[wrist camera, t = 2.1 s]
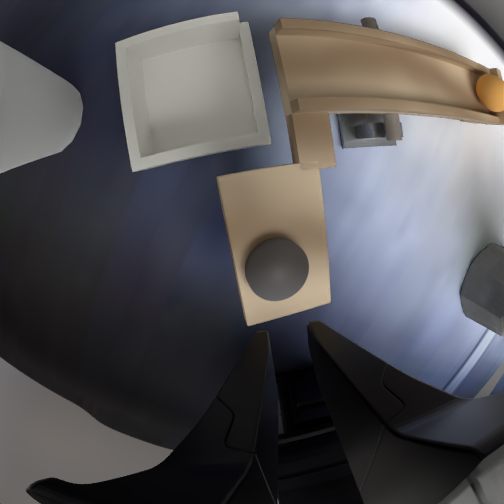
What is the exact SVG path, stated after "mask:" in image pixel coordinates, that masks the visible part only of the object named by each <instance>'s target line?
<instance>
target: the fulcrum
mask: <svg viewBox="0 0 504 504" xmlns="http://www.w3.org/2000/svg"><path fill="white" fill-rule="evenodd" d="M379 30H380V29H379ZM337 115H338V121H339V127H340V134H341V140H342V147H343V148H356V147H371V146H391V145H396V140H387V137H386V130H385V123H384V117H383V114H380V113H340V114H337ZM400 128H401V135H402V137H403V133H402V126H401V122H400Z"/></svg>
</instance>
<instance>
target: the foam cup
mask: <svg viewBox="0 0 504 504" xmlns="http://www.w3.org/2000/svg"><path fill="white" fill-rule="evenodd" d="M82 112H83V105H82V100H81V95H80V93H79V92H78V90H77V89H76V88H75V87H74V86H73V85H72V84H70V83H69V82H68V81H66V80H65V79H63V78H61V77H60V76H58V75H57V74H55V73H53V72H52V71H50V70H48V69H47V68H45V67H43V66H42V65H40V64H39V63H37V62H35V61H34V60H32V59H30V58H28V57H27V56H25V55H23V54H22V53H20V52H18V51H17V50H15V49H13V48H11V47H10V46H8V45H6V44H4V43H3V42H1V41H0V173H3V172H5V171H8V170H10V169H13V168H15V167H18V166H21V165H23V164H26V163H29V162H32V161H35V160H38V159H41V158H44V157H47V156H50V155H53V154H56V153H59V152H62V151H63V150H64V149H65V148H66V147H67V146H68V145H69V144H70V143H71V142H72V141H73V139H74V137H75V135H76V133H77V131H78V129H79V127H80V125H81V119H82Z"/></svg>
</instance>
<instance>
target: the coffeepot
mask: <svg viewBox="0 0 504 504" xmlns="http://www.w3.org/2000/svg"><path fill="white" fill-rule="evenodd" d="M461 305H462V308H463V310H464V314H465V316H466V317H468V318H470V319H472V320H473V321H475V322H477V323H479V324H481V325H482V326H484V327H486V328H488V329H490V330H491V331H493V332H495V333H497V334H498V335H500V336H504V247H501V246H498V245H494V244H490V245H489V246H487V247H486V248H485V249H483V250H482V251H481V252H480V253H479V254H478V255H477V256H476V258H475V259H474V261H473V262H472V264H471V265H470V267H469V269H468V271H467V274H466V276H465V279H464V282H463V285H462V290H461Z"/></svg>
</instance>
